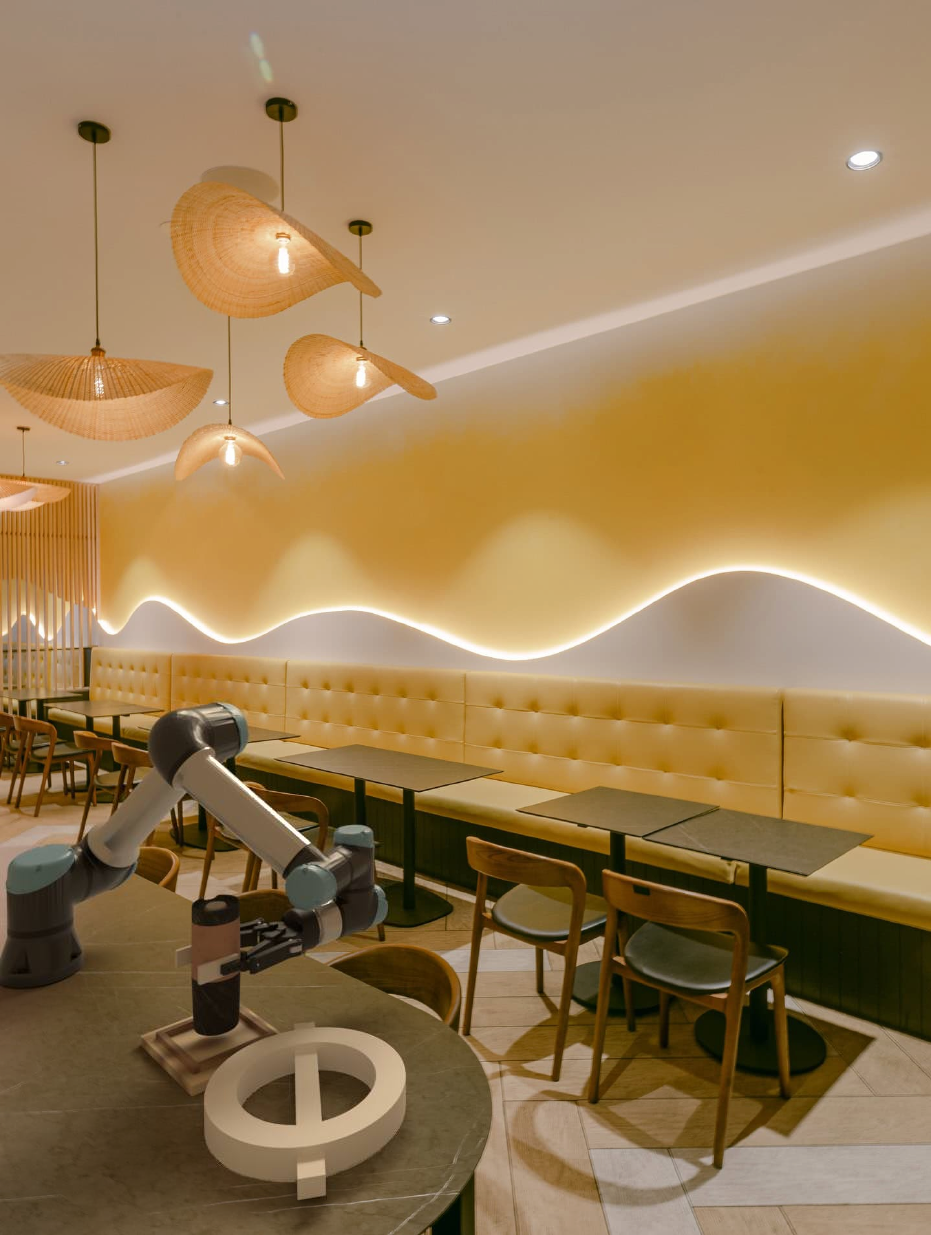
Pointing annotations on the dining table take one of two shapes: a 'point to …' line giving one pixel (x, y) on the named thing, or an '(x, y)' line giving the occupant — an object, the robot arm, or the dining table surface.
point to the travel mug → (208, 943)
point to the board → (201, 1048)
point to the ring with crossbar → (304, 1106)
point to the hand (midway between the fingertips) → (187, 967)
